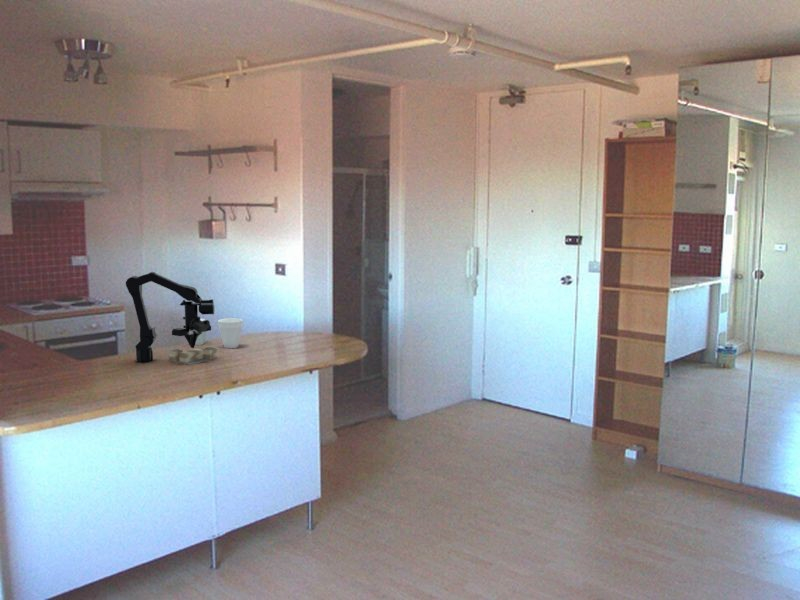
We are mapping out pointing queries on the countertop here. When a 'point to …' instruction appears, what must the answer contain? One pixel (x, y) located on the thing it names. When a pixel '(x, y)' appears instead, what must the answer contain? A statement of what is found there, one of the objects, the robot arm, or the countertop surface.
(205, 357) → the number block
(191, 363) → the mat
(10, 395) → the countertop surface
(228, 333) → the cup
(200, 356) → the plain bar
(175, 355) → the number block
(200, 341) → the supplement box
